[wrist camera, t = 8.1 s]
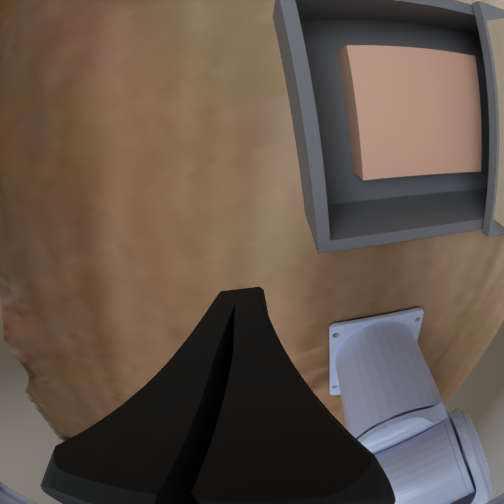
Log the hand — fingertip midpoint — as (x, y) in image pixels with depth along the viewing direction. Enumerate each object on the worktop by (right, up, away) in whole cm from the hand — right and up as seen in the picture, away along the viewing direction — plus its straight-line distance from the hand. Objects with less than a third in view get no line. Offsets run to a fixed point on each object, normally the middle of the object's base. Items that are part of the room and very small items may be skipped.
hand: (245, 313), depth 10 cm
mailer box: (+9, +10, +5) cm, 15 cm away
